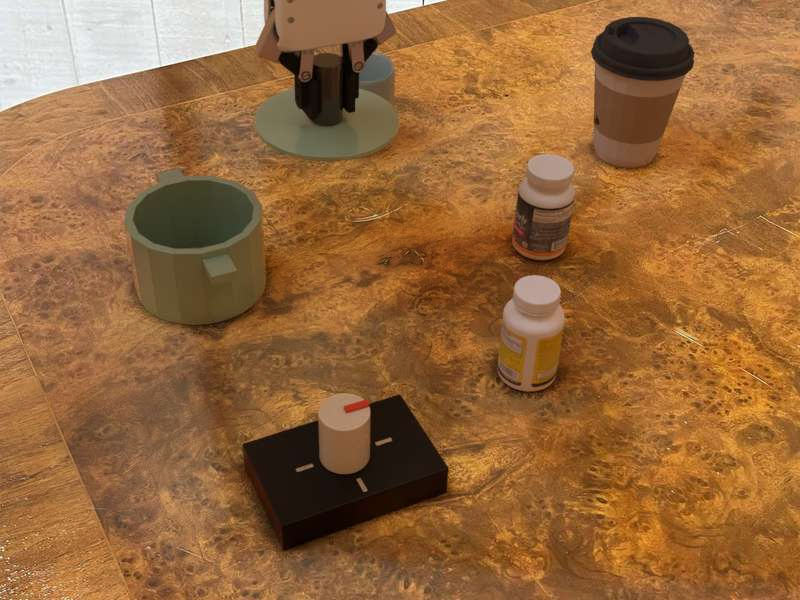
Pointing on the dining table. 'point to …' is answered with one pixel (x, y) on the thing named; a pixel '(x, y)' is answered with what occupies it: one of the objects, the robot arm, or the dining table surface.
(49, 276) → the dining table surface
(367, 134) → the pot lid
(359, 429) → the knob
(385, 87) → the cup
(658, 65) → the coffee cup
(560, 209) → the pill bottle
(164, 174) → the pot
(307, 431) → the panel
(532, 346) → the supplement bottle
